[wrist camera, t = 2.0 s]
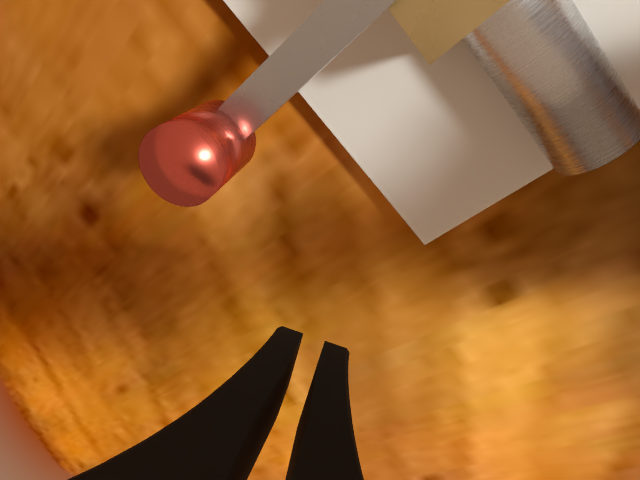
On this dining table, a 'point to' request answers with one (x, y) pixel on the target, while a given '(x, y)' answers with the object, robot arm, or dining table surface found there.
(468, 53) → the valve board
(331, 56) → the valve lever
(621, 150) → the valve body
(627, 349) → the dining table surface
